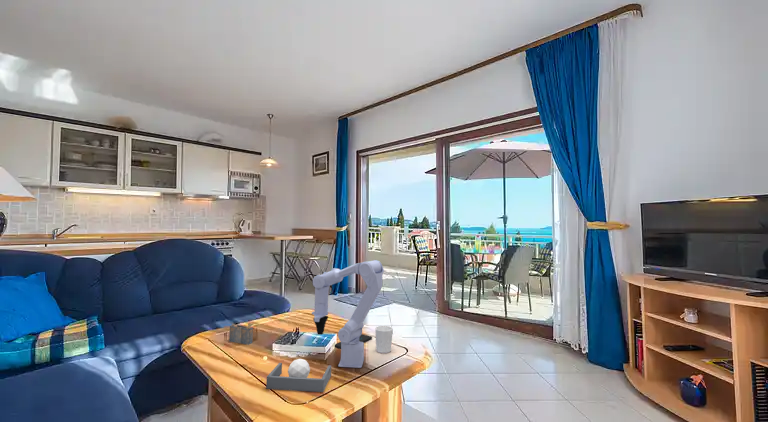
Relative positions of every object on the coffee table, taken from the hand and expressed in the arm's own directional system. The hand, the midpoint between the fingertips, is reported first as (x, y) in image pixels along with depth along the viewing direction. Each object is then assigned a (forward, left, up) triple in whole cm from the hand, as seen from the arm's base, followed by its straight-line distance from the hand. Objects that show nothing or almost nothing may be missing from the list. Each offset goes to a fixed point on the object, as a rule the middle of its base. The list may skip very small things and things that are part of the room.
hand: (320, 334), depth 145 cm
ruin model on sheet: (+41, -11, -10) cm, 44 cm away
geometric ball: (+2, +23, -10) cm, 25 cm away
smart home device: (-12, -18, -10) cm, 24 cm away
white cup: (-27, -10, -10) cm, 30 cm away
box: (+1, +24, -9) cm, 26 cm away
